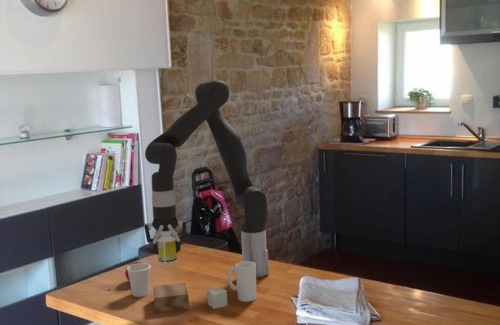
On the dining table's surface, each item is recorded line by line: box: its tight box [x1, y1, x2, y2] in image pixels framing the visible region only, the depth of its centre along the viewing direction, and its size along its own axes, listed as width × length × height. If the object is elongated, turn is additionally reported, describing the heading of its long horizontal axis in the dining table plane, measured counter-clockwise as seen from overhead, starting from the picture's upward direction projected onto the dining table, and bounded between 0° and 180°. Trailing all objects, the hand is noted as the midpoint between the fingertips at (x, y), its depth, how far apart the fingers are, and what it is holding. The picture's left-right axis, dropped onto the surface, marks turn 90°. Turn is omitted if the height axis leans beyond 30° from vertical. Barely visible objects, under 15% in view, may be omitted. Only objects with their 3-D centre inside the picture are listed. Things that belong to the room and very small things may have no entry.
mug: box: [227, 260, 257, 303], centre depth 191 cm, size 10×7×12 cm, turn 71°
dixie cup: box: [126, 262, 152, 298], centre depth 200 cm, size 8×8×10 cm
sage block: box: [206, 286, 228, 310], centre depth 187 cm, size 5×5×5 cm
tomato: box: [124, 261, 143, 282], centre depth 212 cm, size 9×9×8 cm
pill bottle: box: [157, 230, 178, 266], centre depth 187 cm, size 6×6×11 cm
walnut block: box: [152, 282, 190, 314], centre depth 189 cm, size 11×11×5 cm
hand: (167, 252), depth 187 cm, fingers closed on pill bottle, 6 cm apart
